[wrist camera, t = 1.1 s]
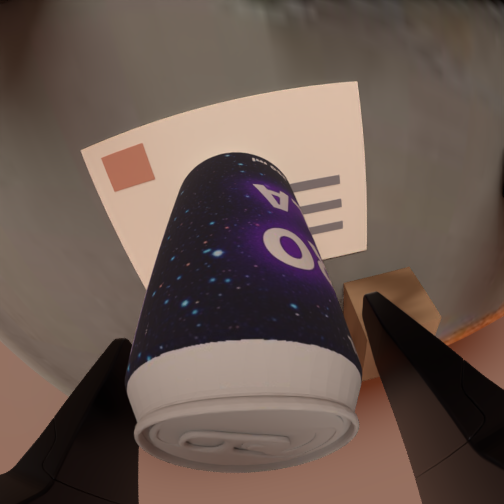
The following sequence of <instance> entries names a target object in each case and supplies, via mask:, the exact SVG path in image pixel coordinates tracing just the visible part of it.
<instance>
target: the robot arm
mask: <svg viewBox="0 0 504 504" xmlns="http://www.w3.org/2000/svg"><path fill="white" fill-rule="evenodd" d="M503 197H504V189H503ZM362 318H363V322H364V326H365V329H366V333H367V336H368V340H369V343H370V347H371V351H372V354H373V358H374V362H375V365H376V368H377V371H378V373H379V376H380V378H381V381H382V383H383V386H384V389H385V391H386V394H387V396H388V399H389V402H390V404H391V407H392V410H393V413H394V416H395V418H396V421H397V424H398V427H399V430H400V433H401V436H402V439H403V442H404V444H405V448H406V451H407V454H408V457H409V460H410V463H411V466H412V469H413V473H414V476H415V478H416V479H415V480H416V483H417V486H418V490H419V494H420V497H421V500H422V504H504V390H503V389H502V388H500V387H499V386H498V385H496V384H495V383H493V382H492V381H490V380H489V379H488V378H486V377H485V376H484V375H482V374H481V373H480V372H479V371H477V370H476V369H475V368H474V367H472V366H471V365H470V364H469V363H468V362H467V361H465V360H464V361H463V358H462V357H460V356H459V355H458V354H456V352H454V351H453V350H452V349H451V348H449V347H448V346H447V345H446V344H444V343H443V342H442V341H441V340H440V339H438V338H437V337H436V336H435V335H433V334H432V333H431V332H430V331H428V330H427V329H426V328H424V327H423V326H422V325H421V324H419V323H418V322H417V321H416V320H414V319H413V318H412V317H410V316H409V315H408V314H407V313H405V312H404V311H403V310H401V309H400V308H399V307H398V306H396V305H395V304H394V303H392V302H391V301H390V300H388V299H387V298H386V297H384V296H383V295H382V294H381V293H379V292H377V291H375V292H371V293H367V294H365V295H364V296H363V307H362ZM131 348H132V344H131V343H130V341H129V340H128V339H126V338H119V339H115V340H113V342H112V343H111V344H110V345H109V346H108V348H107V349H106V350H105V351H104V353H103V354H102V355H101V356H100V358H99V359H98V360H97V361H96V363H95V364H94V365H93V367H92V368H91V369H90V370H89V372H88V373H87V374H86V376H85V377H84V378H83V379H82V381H81V382H80V383H79V385H78V386H77V387H76V388H75V390H74V391H73V392H72V394H71V395H70V396H69V398H68V399H67V400H66V402H65V403H64V404H63V406H62V407H61V408H60V410H59V411H58V413H57V414H56V415H55V417H54V418H53V419H52V421H51V422H50V423H49V425H48V426H47V427H46V429H45V430H44V431H43V433H42V434H41V435H40V437H39V438H38V439H37V440H36V441H35V443H34V444H33V445H32V446H31V448H30V449H29V450H28V451H27V452H26V453H25V455H24V456H23V457H22V458H21V459H20V461H19V462H18V463H17V464H16V466H14V467H13V468H12V469H11V470H10V471H8V472H6V473H4V474H1V475H0V504H139V502H138V501H139V500H138V453H139V450H138V449H139V445H138V444H137V442H136V440H135V437H134V430H135V426H136V424H137V420H136V417H135V414H134V412H133V409H132V406H131V404H130V401H129V398H128V395H127V392H126V387H125V375H126V370H127V366H128V361H129V357H130V353H131Z"/></svg>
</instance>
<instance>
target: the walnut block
mask: <svg viewBox="0 0 504 504" xmlns="http://www.w3.org/2000/svg"><path fill="white" fill-rule="evenodd" d="M375 291H377V292H379V293H381V294H382V295H383V296H384V297H386V298H387V299H388V300H390V301H391V302H392V303H394V304H395V305H396V306H398V307H399V308H400V309H401V310H403V311H404V312H405V313H407V314H408V315H409V316H410V317H412V318H413V319H414V320H416V321H417V322H418V323H419V324H421V325H422V326H423V327H424V328H426V329H427V330H428V331H430V332H431V333H432V334H433V335H435V333H436V331H437V328H438V325H439V323H440V320H441V316H440V314H439V312H438V311H437V309H436V307H435V306H434V304H433V303H432V301H431V299H430V298H429V296H428V295H427V293H426V292H425V290H424V288H423V287H422V285H421V284H420V282H419V281H418V279H417V278H416V276H415V275H414V273H413V272H412V270H411V269H410V267H407V268H403V269H399V270H395V271H391V272H387V273H383V274H379V275H375V276H371V277H367V278H363V279H359V280H355V281H350V282H346V283H344V318H345V321H346V324H347V326H348V329H349V332H350V335H351V337H352V340H353V343H354V346H355V349H356V352H357V355H358V358H359V360H360V363H361V367H362V381H366V380H369V379H373V378H376V377H379V373H378V371H377V368H376V365H375V362H374V358H373V354H372V351H371V347H370V343H369V340H368V336H367V333H366V329H365V326H364V322H363V318H362V307H363V296H364V295H365V294H367V293H371V292H375Z"/></svg>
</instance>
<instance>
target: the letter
mask: <svg viewBox="0 0 504 504" xmlns="http://www.w3.org/2000/svg"><path fill="white" fill-rule="evenodd" d="M231 152H242V153H249V154H253V155H256V156H259V157H262V158H264V159H266V160H268V161H269V162H271V163H272V164H274V165H275V166H276V167H277V168H278V169H279V170H280V171H281V172H282V173H283V174H284V175H285V177H286V178H287V180H288V182H289V184H290V186H291V188H292V190H293V193H294V195H295V197H296V199H297V202H298V204H299V206H300V208H301V211H302V213H303V215H304V218H305V220H306V222H307V225H308V227H309V229H310V232H311V234H312V237H313V239H314V241H315V244H316V246H317V249H318V251H319V253H320V256H321V258H322V260H323V259H328V258H332V257H337V256H342V255H346V254H351V253H355V252H360V251H364V250H366V249H367V199H366V171H365V153H364V140H363V128H362V117H361V108H360V99H359V91H358V84H357V81H355V82H342V83H332V84H323V85H314V86H307V87H299V88H293V89H286V90H280V91H274V92H269V93H263V94H258V95H253V96H248V97H243V98H239V99H234V100H230V101H226V102H222V103H217V104H213V105H210V106H206V107H202V108H198V109H195V110H191V111H187V112H184V113H181V114H177V115H174V116H171V117H168V118H164V119H161V120H158V121H155V122H152V123H149V124H146V125H143V126H140V127H138V128H135V129H132V130H129V131H127V132H124V133H121V134H119V135H116V136H114V137H111V138H109V139H106V140H104V141H101V142H99V143H96V144H94V145H92V146H89V147H87V148H85V149H82V150H81V153H82V156H83V158H84V161H85V163H86V166H87V168H88V171H89V173H90V175H91V178H92V180H93V182H94V185H95V187H96V189H97V192H98V194H99V196H100V199H101V201H102V203H103V205H104V207H105V210H106V212H107V214H108V216H109V218H110V220H111V222H112V225H113V227H114V229H115V231H116V233H117V235H118V237H119V239H120V241H121V243H122V245H123V247H124V249H125V251H126V253H127V255H128V257H129V259H130V260H131V262H132V264H133V266H134V268H135V270H136V272H137V274H138V275H139V277H140V279H141V281H142V283H143V285H144V286H145V288H146V290H147V287H148V284H149V281H150V277H151V274H152V271H153V267H154V264H155V261H156V257H157V254H158V251H159V248H160V245H161V242H162V239H163V236H164V233H165V230H166V227H167V224H168V221H169V218H170V215H171V212H172V209H173V207H174V204H175V201H176V198H177V195H178V193H179V190H180V187H181V185H182V183H183V181H184V180H185V178H186V177H187V175H188V174H189V173H190V172H191V171H192V170H193V169H194V168H195V167H196V166H197V165H198V164H200V163H201V162H203V161H205V160H206V159H208V158H211V157H213V156H216V155H219V154H224V153H231Z"/></svg>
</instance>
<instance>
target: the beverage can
mask: <svg viewBox="0 0 504 504" xmlns="http://www.w3.org/2000/svg"><path fill="white" fill-rule="evenodd" d="M361 382H362V367H361V363H360V360H359V358H358V355H357V352H356V349H355V346H354V343H353V340H352V337H351V335H350V332H349V329H348V326H347V324H346V321H345V318H344V315H343V313H342V310H341V307H340V305H339V302H338V299H337V297H336V294H335V291H334V289H333V286H332V284H331V281H330V278H329V276H328V273H327V271H326V268H325V266H324V263H323V261H322V258H321V256H320V253H319V251H318V249H317V246H316V244H315V241H314V239H313V237H312V234H311V232H310V229H309V227H308V225H307V222H306V220H305V218H304V215H303V213H302V211H301V208H300V206H299V204H298V202H297V199H296V197H295V195H294V193H293V190H292V188H291V186H290V184H289V182H288V180H287V178H286V177H285V175H284V174H283V173H282V172H281V171H280V170H279V169H278V168H277V167H276V166H275V165H274V164H272V163H271V162H269V161H268V160H266V159H264V158H262V157H259V156H256V155H253V154H249V153H242V152H231V153H224V154H219V155H216V156H213V157H211V158H208V159H206V160H205V161H203V162H201V163H200V164H198V165H197V166H196V167H195V168H194V169H193V170H192V171H191V172H190V173H189V174H188V175H187V177H186V178H185V180H184V181H183V183H182V185H181V187H180V190H179V193H178V195H177V198H176V201H175V204H174V207H173V209H172V212H171V215H170V218H169V221H168V224H167V227H166V230H165V233H164V236H163V239H162V242H161V245H160V248H159V251H158V254H157V257H156V261H155V264H154V267H153V271H152V274H151V277H150V281H149V284H148V287H147V291H146V294H145V298H144V302H143V305H142V309H141V313H140V316H139V320H138V324H137V328H136V332H135V336H134V340H133V344H132V348H131V353H130V357H129V361H128V366H127V370H126V375H125V387H126V392H127V395H128V398H129V401H130V404H131V406H132V409H133V412H134V414H135V417H136V420H137V424H136V426H135V430H134V437H135V440H136V442H137V444H138V445H139V446H140V447H141V448H142V449H143V450H144V451H146V452H147V453H149V454H150V455H152V456H154V457H156V458H158V459H160V460H163V461H166V462H168V463H172V464H174V465H178V466H183V467H187V468H191V469H196V470H204V471H213V472H231V473H240V472H241V473H243V472H244V473H245V472H259V471H269V470H276V469H282V468H287V467H292V466H297V465H301V464H304V463H307V462H310V461H313V460H316V459H319V458H322V457H324V456H326V455H329V454H331V453H333V452H335V451H337V450H339V449H340V448H342V447H343V446H345V445H346V444H347V443H349V442H350V441H351V440H352V439H353V438H354V437H355V436H356V434H357V432H358V429H359V420H358V418H357V415H356V414H355V413H354V412H355V407H356V403H357V399H358V395H359V391H360V387H361Z"/></svg>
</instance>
